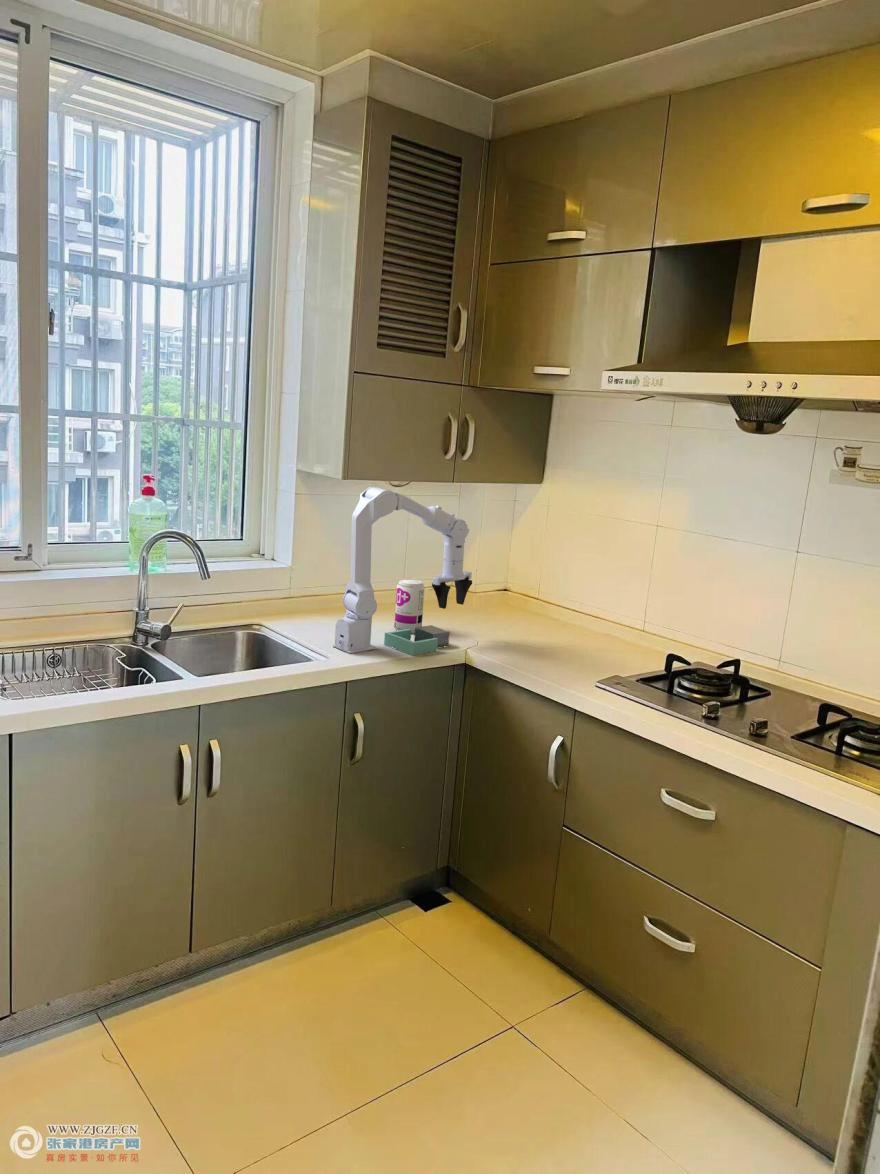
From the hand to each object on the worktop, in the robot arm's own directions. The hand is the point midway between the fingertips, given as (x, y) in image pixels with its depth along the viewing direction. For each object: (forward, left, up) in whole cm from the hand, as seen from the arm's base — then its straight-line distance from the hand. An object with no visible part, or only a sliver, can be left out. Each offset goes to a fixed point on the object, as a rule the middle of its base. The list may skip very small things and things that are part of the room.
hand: (451, 605), depth 254 cm
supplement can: (-3, +14, -11) cm, 18 cm away
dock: (-15, 0, -10) cm, 18 cm away
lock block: (-7, 0, -11) cm, 13 cm away
